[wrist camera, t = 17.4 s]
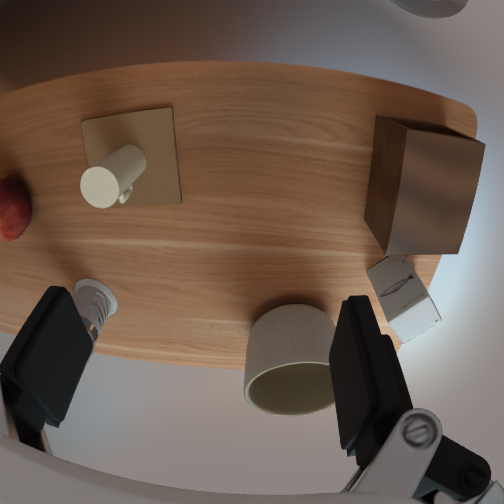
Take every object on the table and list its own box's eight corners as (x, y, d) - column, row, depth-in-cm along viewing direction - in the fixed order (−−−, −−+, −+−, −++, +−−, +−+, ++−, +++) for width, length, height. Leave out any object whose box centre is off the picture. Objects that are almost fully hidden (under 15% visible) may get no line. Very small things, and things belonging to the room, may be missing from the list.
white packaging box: (400, 246, 48) (431, 295, 37) (415, 273, 51) (443, 321, 40) (364, 269, 51) (387, 322, 40) (382, 294, 54) (404, 346, 43)
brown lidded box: (375, 115, 37) (407, 129, 28) (446, 126, 37) (485, 144, 28) (363, 219, 46) (385, 255, 37) (428, 221, 45) (458, 254, 37)
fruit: (45, 227, 47) (15, 258, 38) (9, 222, 46) (-21, 250, 38) (36, 170, 41) (-1, 195, 33) (-1, 171, 40) (-37, 194, 32)
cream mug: (110, 146, 39) (76, 169, 31) (143, 142, 39) (114, 164, 31) (118, 191, 43) (89, 223, 34) (150, 189, 43) (125, 221, 34)
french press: (112, 281, 53) (57, 395, 32) (123, 325, 59) (84, 431, 38) (68, 275, 52) (6, 377, 31) (82, 318, 59) (37, 415, 38)
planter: (348, 296, 54) (369, 363, 41) (320, 355, 63) (330, 417, 50) (254, 284, 52) (253, 356, 40) (240, 348, 62) (237, 413, 49)
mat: (82, 120, 37) (80, 121, 37) (172, 106, 37) (171, 107, 36) (98, 206, 45) (97, 208, 44) (182, 202, 45) (181, 203, 44)
